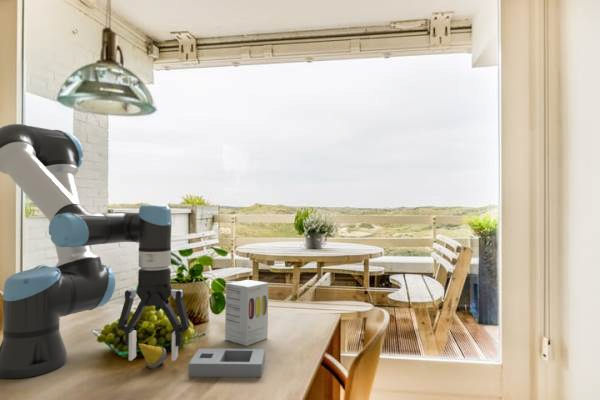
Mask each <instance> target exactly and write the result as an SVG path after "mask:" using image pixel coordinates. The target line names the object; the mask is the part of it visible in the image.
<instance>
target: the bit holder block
mask: <svg viewBox="0 0 600 400" xmlns="http://www.w3.org/2000/svg"><path fill="white" fill-rule="evenodd" d="M265 362H266V349H265V348H198V350H197V351H196V353H194V355H193V356H192V358H191V360H190V361H189V362H188V377H204V378H205V377H207V378H208V377H209V378H211V377H214V378H215V377H217V378H228V377H229V378H262V376H263V371H264V368H265Z"/></svg>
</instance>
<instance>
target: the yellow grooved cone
mask: <svg viewBox="0 0 600 400" xmlns="http://www.w3.org/2000/svg"><path fill="white" fill-rule="evenodd" d="M137 344H138V347H139V349H140V351H141V353H142V355H143V357H144V360H145V365H146V366H147V367H148V368H150V369H155V368H158V366H161V364H165V360H167V359H168V358H169V357H168V355H167V350H166V348H165V347H163V346H162V345H158V346H154V345H149V344H145V343H137Z"/></svg>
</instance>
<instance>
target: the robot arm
mask: <svg viewBox="0 0 600 400" xmlns="http://www.w3.org/2000/svg"><path fill="white" fill-rule="evenodd" d="M83 157H84V150H83V146H82V144H81V142H80V140H79V139H78V138H77V136H75V135H74V134H71V133H69V132H67V131H66V132H65V131H63V130H60V129H49V128H43V127H38V126H32V125H27V124H20V123H12V124H8V125H4V126H2V127H0V173H2V174H6V175H8V176H9V177H10V178H11V180H12V181H13V182H14V183H15V184H16V185H17V186H18V187H19V189H20V190H21V191H22V192H23V193H24V194H25V195H26V197H28V199H29V200H30V201H31V202H32V203H33V204H34V205H35V206H36V207H37V208H38V210H39V211H40V212H41V213H42V214H43V215H44V216H45V218H47V220H48V221H49V224H48V235H49V236H50V240H51V242H52V243H53V244H54V247H55V251H56V255H57V260H58V262H57V263H56V264H55V265H54V266H47V267H45V266H43V267H39V268H36V267H35V268H31V269H26V270H22V271H19V272H16V273H13V274H11V275H10V276H9V277H8V278H6V280H5V281H4V285H3V292H2V293H3V294H2V299H3V302H2V303H3V307H2V308H3V309H2V310H3V311H2V315H3V316H2V340H1V343H0V379H1V378H2V379H22V378H24V379H25V378H32V377H36V376H39V375H43V374H47V373H50V372H53V371H55V370H57V369H59V368H61V367H63V366H64V365H66V363H67V361H68V351H67V349H66V346H65V342H64V339H63V337H62V335H61V332H60V318H61V317H66V316H69V315H75V314H77V313H81V312H86V311H93V310H95V309H96V308H97V309H98V308H100V307H103V306H105V305H106V304H107V303H109V302H110V301H111V299H112V297H113V294H114V293H115V289H116V275H115V272H114V271H113V269H112V268H110V266H108V265H106V264H102V261H101V256H99V255H98V254H96V253H94V252H93V249H92V246H96V245H107V244H117V243H136V244H137V243H138V267H139V268H140V269H138V271H137V273H138V275H137V276H138V277H137V281H138V282H137V283H138V286H137V289H135V288H134V289H133V288H129V289H127V290H125V291H124V303H123V306H122V310H121V312H120V313H121V314H120V317H119V319H118V323H117V327H116V329H117V330H118V331H122V332H124V333H125V334H124V336H125V337H124V339H125V341H124V345H125V346H126V347H127V346H128V361H131V362H132V361H133V360H134V359H136V357H137V330H135V327H136V324H137V323H138V322H139V319H140V318H141V315H142V314H143V312H144V311H145V308H146V307H156V308H158V307H160V308H161V310H162V311H163V312H164V315H165V316H166V318H167V319H168V322H169V323H170V326H171V327H172V328H173V330H174V331H173V332H172V333H171V362H175V361H176V360H177V359H178V357H179V347H180V346H181V345H182V344H183V332H186V331H188V329H189V328H190V326H191V323H190V320H189V316H188V313H187V308H186V306H185V305H186V304H185V300H184V289H182V288H180V289H173V288H172V286H171V281H172V280H171V279H172V278H171V272H172V271H171V270H172V269H171V268H170V266H171V265H172V262H171V261H172V250H171V249H172V247H171V245H172V224H173V221H172V209H171V208H170V206H168V205H158V204H157V205H150V204H149V205H147V204H144V205H143V204H142V205H141V206H139V209H138V210H139V211H138V212H126V211H115V212H89V211H88V210H87V209H86V207H85V206H84V205H82V204H81V200H80V199H81V198H80V195H79V192H78V188H77V184H76V180H75V176H76V175H77V173H78V172H79V168H80V167H81V165H82V163H83V159H82V158H83ZM171 295H172V298H173V299H174V300H175V306H176V309H177V314H178V316H179V317H178V316H177V314H176V313H175V311H174V309H173V307H172V304H171V302H170V300H169V298H170V296H171ZM136 296H138V298H139V300H140V302H139V303H138V305H137V306H136V307H137V308H136V309H135V311H134V313H133V314H132V316H131V318H130V313H131V310H132V306H133V303H134V299H135V298H136ZM129 318H130V319H129ZM128 321H129V322H128Z"/></svg>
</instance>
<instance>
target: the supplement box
mask: <svg viewBox="0 0 600 400" xmlns="http://www.w3.org/2000/svg"><path fill="white" fill-rule="evenodd" d="M224 313H225V318H224V319H225V321H224V322H225V324H224V325H225V327H224V328H225V329H224V340H226V341H228V342H232V343H236V344H239V345H242V346H245V347H246V346H247V347H248V346H250V345H252V344H256V343H258V342H261V341H264V340H267V339H268V327H269V325H268V324H269V323H268V322H269V316H268V315H269V283H268V282H266V281H259V280H254V279H253V280H251V279H245V280H238V281H233V282H227V283H226V284H225V312H224Z"/></svg>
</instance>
